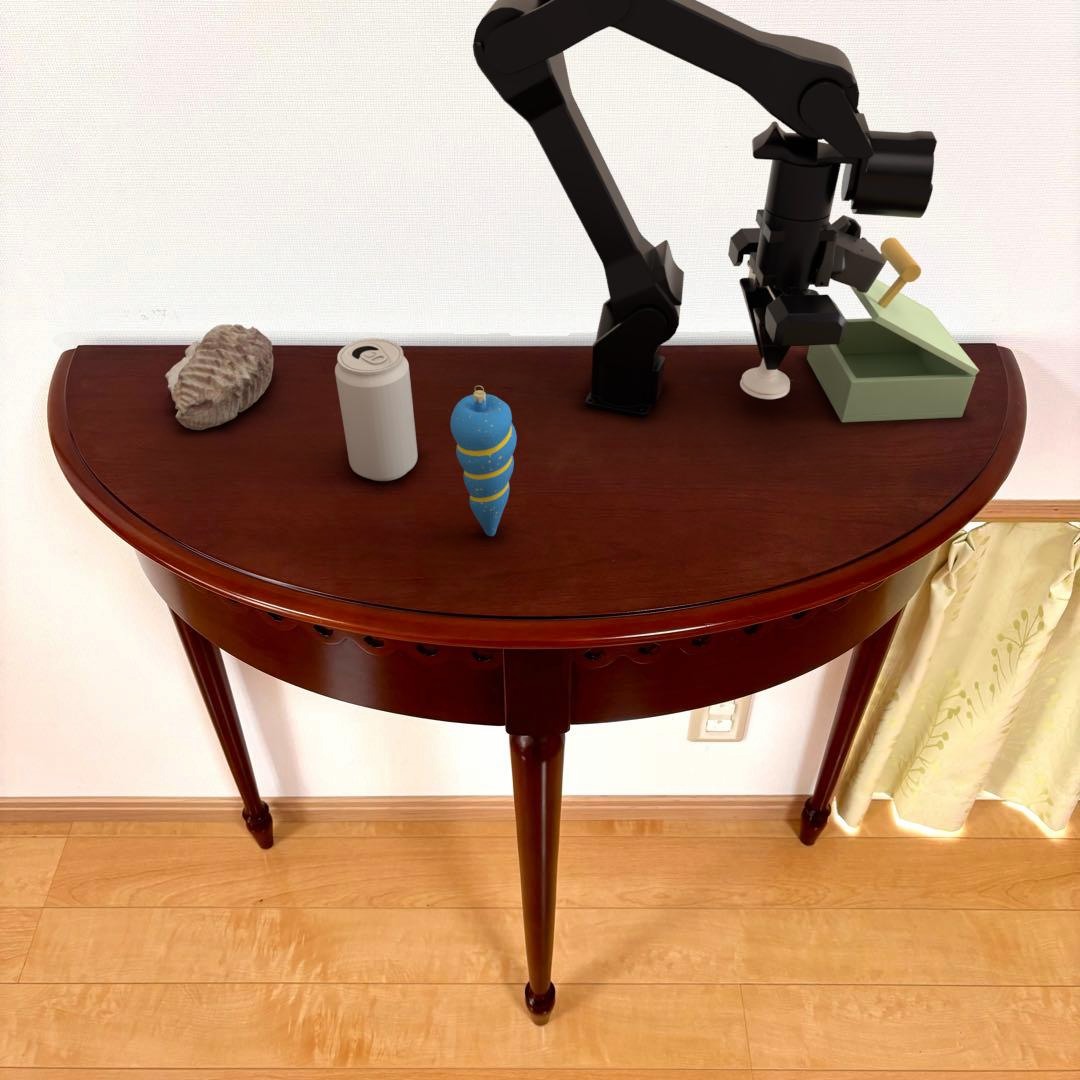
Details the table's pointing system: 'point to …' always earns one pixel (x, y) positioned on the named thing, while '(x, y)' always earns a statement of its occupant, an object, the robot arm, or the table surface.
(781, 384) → the chess piece
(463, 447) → the ornament
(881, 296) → the chest lid
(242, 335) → the seashell
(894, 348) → the chest
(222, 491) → the table surface
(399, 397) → the beverage can
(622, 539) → the table surface
